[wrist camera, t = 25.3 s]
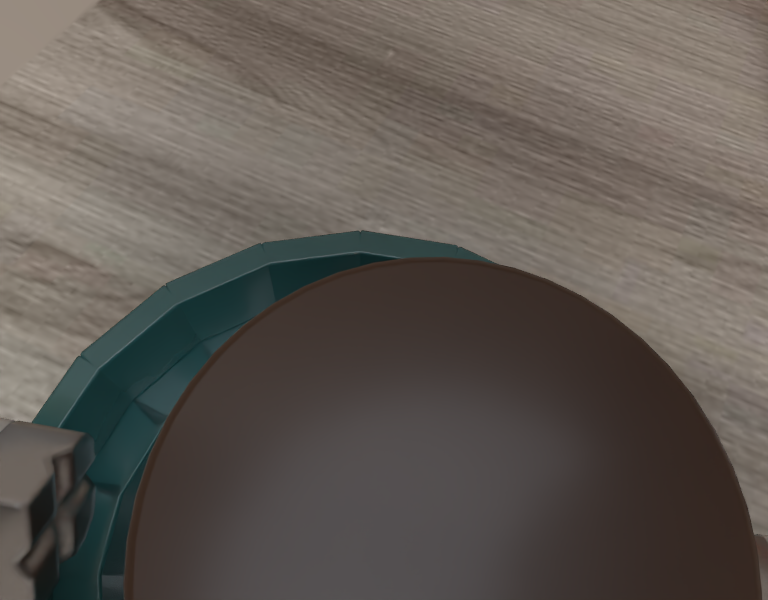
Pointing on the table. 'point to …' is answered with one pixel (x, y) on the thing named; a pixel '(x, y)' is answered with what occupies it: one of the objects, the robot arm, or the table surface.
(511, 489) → the stick
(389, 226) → the table surface
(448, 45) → the table surface
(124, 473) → the bowl
